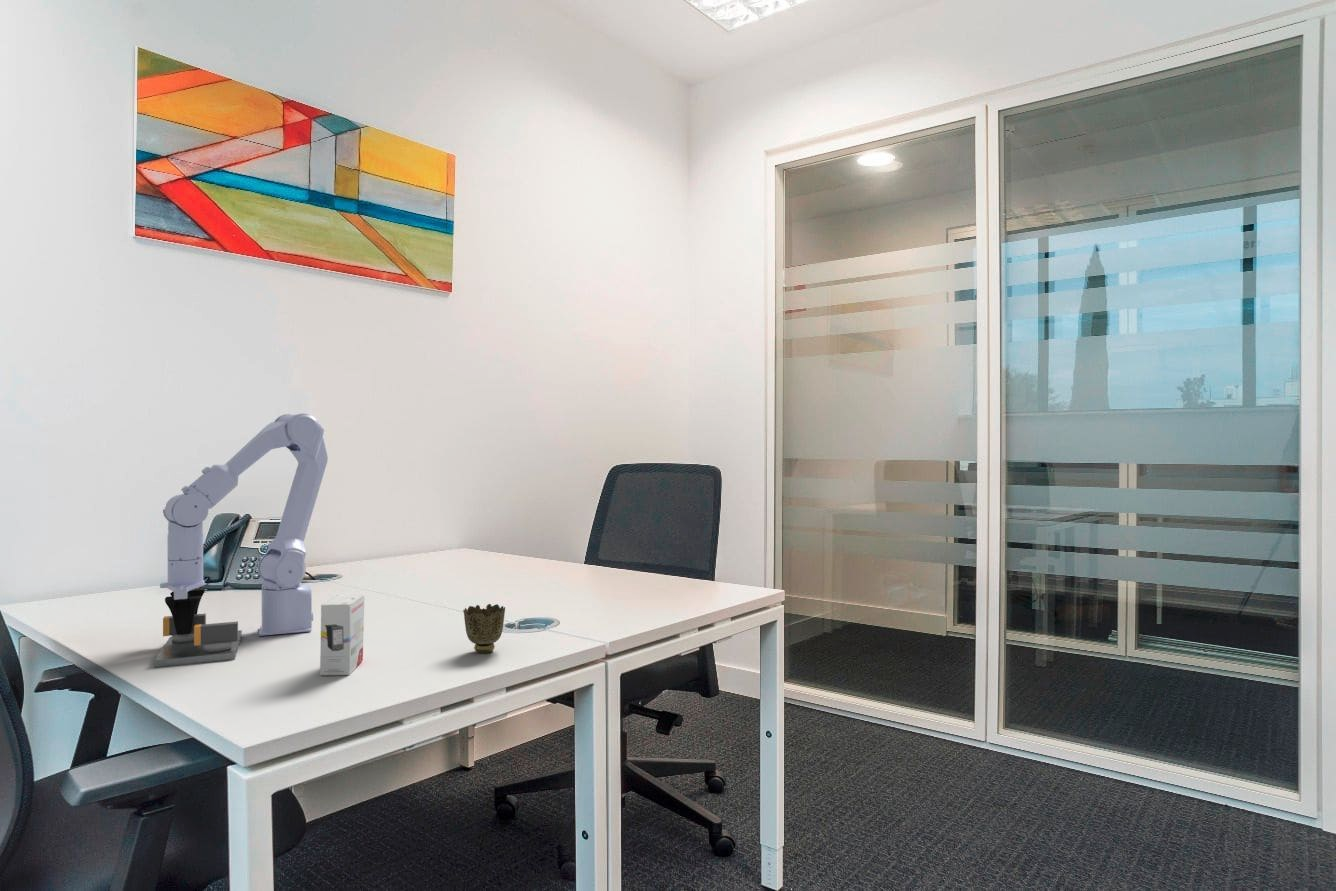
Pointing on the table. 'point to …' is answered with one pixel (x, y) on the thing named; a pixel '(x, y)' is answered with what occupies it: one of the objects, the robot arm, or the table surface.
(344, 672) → the ink box
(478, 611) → the cup
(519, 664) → the table surface
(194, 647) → the plate
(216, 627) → the knob
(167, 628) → the knob
